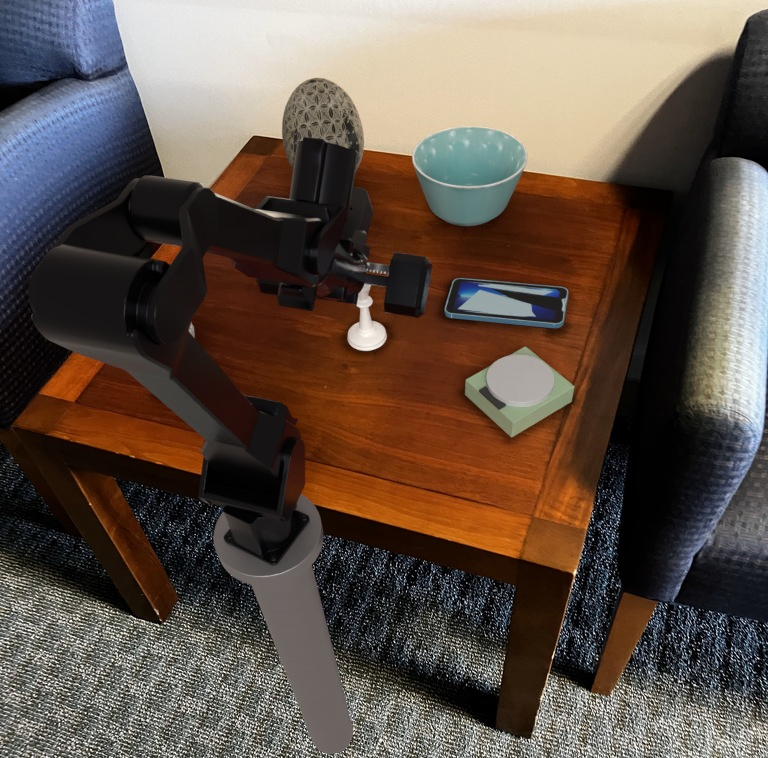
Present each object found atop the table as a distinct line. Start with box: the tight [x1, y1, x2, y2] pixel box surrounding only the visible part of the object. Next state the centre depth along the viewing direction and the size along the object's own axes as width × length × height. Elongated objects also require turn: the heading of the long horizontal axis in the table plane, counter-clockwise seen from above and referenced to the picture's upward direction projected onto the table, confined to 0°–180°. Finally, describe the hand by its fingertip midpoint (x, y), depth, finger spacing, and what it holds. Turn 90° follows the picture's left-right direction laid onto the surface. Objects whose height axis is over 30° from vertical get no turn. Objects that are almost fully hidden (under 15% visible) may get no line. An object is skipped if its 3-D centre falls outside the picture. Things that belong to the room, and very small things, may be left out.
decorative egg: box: [281, 77, 365, 172], centre depth 111 cm, size 12×12×15 cm
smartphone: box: [443, 277, 570, 329], centre depth 98 cm, size 7×1×15 cm
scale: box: [464, 346, 575, 438], centre depth 88 cm, size 9×8×3 cm
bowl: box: [411, 125, 529, 227], centre depth 108 cm, size 16×16×8 cm
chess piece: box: [347, 284, 388, 352], centre depth 92 cm, size 5×5×10 cm
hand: (364, 285), depth 91 cm, fingers open, 9 cm apart
